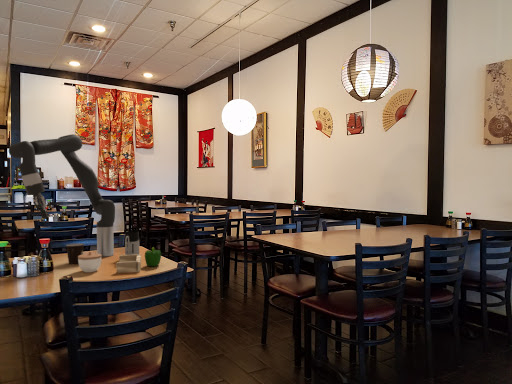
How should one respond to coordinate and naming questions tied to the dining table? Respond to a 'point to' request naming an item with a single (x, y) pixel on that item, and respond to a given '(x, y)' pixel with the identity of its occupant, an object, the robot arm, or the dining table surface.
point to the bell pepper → (152, 257)
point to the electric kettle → (131, 242)
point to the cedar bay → (128, 263)
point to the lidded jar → (89, 262)
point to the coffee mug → (74, 252)
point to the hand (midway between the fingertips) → (45, 218)
